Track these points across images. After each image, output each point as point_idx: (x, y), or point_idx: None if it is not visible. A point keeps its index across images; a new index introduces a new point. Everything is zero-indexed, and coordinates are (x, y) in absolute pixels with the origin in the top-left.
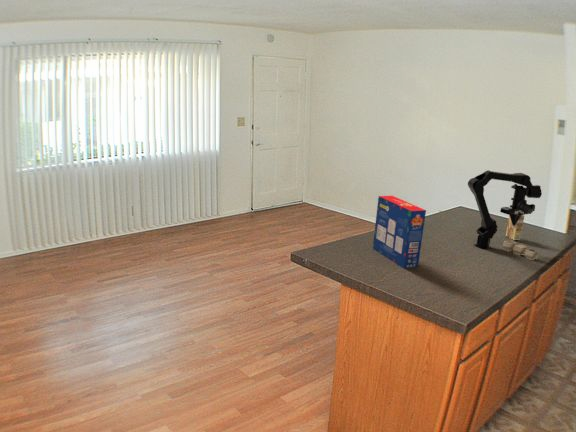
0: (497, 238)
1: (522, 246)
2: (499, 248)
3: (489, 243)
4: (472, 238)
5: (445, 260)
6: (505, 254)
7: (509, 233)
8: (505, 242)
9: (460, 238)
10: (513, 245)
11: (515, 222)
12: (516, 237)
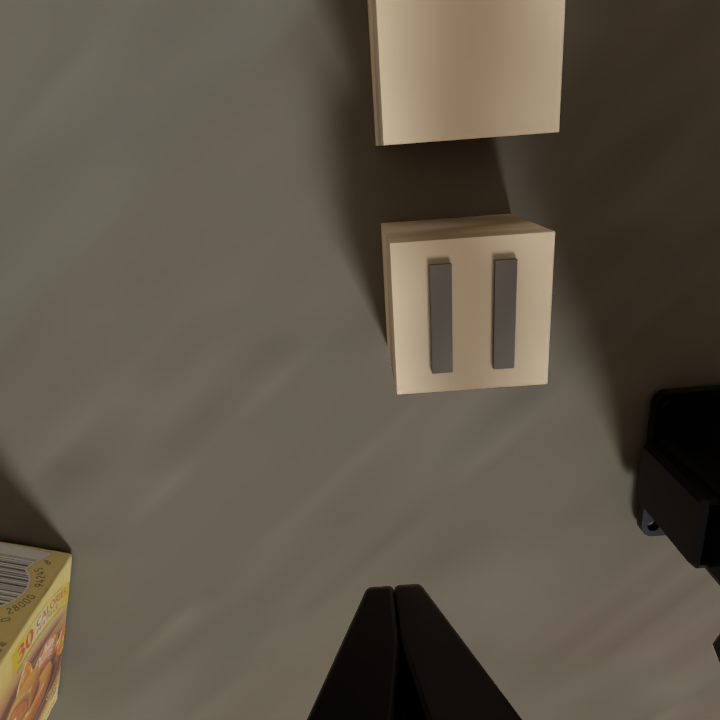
0: (232, 655)
1: (449, 14)
2: None
3: (670, 457)
4: (558, 698)
5: None
6: (695, 108)
7: (36, 698)
8: (545, 339)
9: (700, 717)
10: (452, 232)
11: (429, 663)
12: (14, 581)
